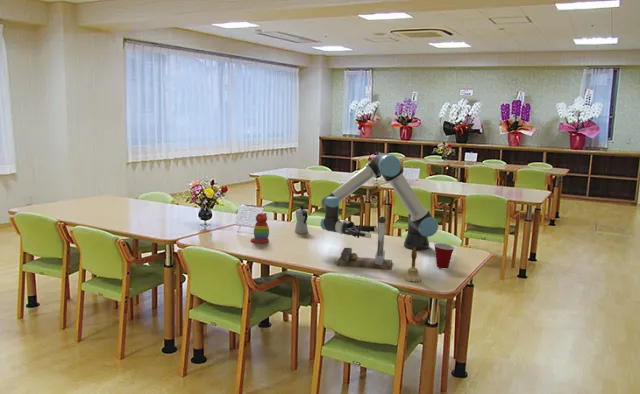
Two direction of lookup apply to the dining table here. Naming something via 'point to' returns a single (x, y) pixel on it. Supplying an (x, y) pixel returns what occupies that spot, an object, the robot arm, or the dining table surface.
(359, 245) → the dining table surface
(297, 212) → the coffee maker
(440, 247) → the plastic cup
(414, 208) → the robot arm
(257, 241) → the stacking bear
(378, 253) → the grey upright post
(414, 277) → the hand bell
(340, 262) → the press base
